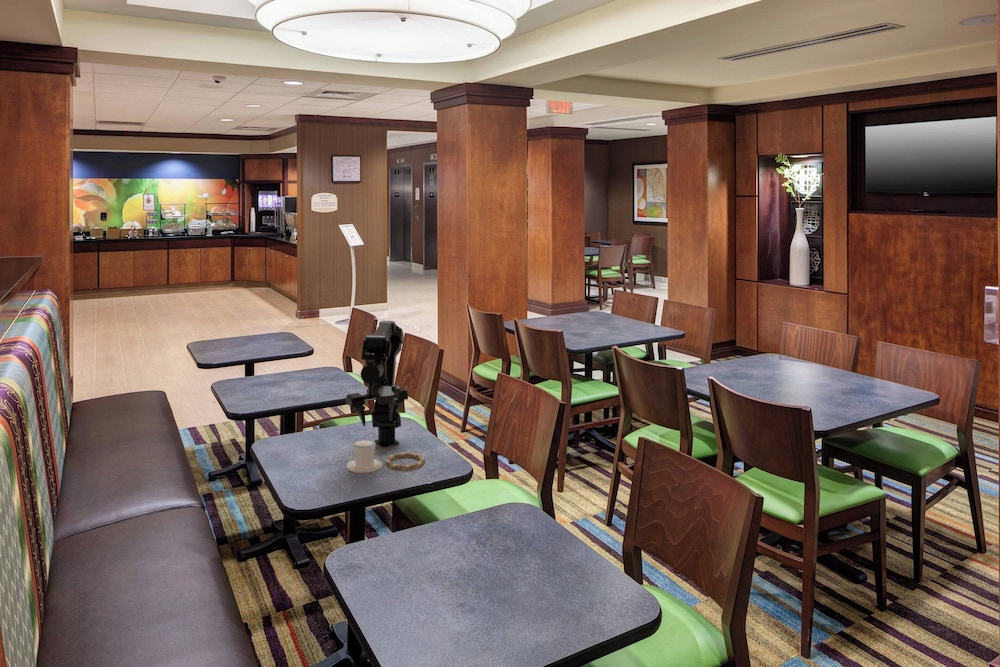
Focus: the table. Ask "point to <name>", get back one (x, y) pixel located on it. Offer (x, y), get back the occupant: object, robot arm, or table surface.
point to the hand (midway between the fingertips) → (377, 423)
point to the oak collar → (405, 467)
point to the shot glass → (364, 453)
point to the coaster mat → (353, 468)
